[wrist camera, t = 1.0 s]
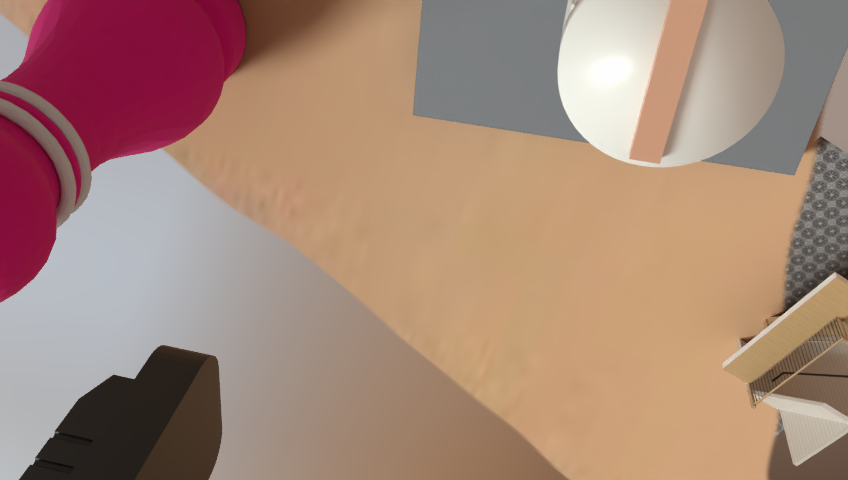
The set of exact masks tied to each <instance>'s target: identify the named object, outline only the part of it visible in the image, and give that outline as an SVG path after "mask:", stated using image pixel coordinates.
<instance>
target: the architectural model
mask: <svg viewBox="0 0 848 480" xmlns="http://www.w3.org/2000/svg"><path fill="white" fill-rule="evenodd" d="M764 325H765V329H764V330H763V331H762V332H761V333H759V334H758V335H757V336H756V337H754V338H753V339H752V340H751V341H750V342H748V343H746V342H744V341H743V340H741V339H739V340H737V346H738V351H737V352H736V353H735V354H734V355H732V356H731V357H730V358H729V359H727V360H726V361H725V362H724V363H723V364H722V365H723V369H724V370H726V371H727V372H729V373H731V374H732V375H734V376H736V377H737V378H739V379H741V380H742V381H744V382H745V383H746V388H747V392H748V393H749V398H750V403H751V407H752V408H753V409H754V408H756V405H757V404H758V403H759V402H761V401H763V402H765V403H767V404H768V405H770V406H772V407H773V408H775V409H779V413H780V417H781V421H782V425H783V429H784V430H785V433H786V437H787V441H788V445H789V449H790V453H791V457H792V461H793V464H794V465H796V466H798V465H799V464H801V463H802V462H804V461H805V460H807V459H809V458H810V457H811V456H813V455H815V454H816V453H818V452H819V451H820V450H822V449H824V448H825V447H827V446H828V445H830V444H831V443H833V442H834V441H836V440H837V439H839V438H840V437H842V436H843V435H845V434H846V433H848V279H847V278H845V277H843V276H842V275H840V274H839V273H837V272H836V271H834V272H833V273H832V274H831V275H829V276H828V277H827V278H826V279H824V280H823V281H822V282H821V283H820V284H818V285H817V286H816V287H815V288H813V289H812V290H811V291H810V292H809V293H807V294H806V295H805V296H804V297H802V298H801V299H800V300H799V301H797V302H796V303H795V304H794V305H793V306H791V307H790V308H789V309H788V310H786V311H785V312H784V313H783V315H781V316H778V317H770V318H768V319H767V320H764ZM770 373H771V374H770ZM771 377H772V378H771ZM773 385H774V386H773ZM754 396H755V397H756V398H758V399H759V400H758V401H757V399H756V401H757V402H755V400H754Z"/></svg>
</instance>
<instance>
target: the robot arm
mask: <svg viewBox="0 0 848 480" xmlns="http://www.w3.org/2000/svg"><path fill="white" fill-rule="evenodd" d="M221 437H222V419H221V400H220V382H219V366H218V361H217V358H216V357H215V356H212V355H207V354H202V353H198V352H193V351H188V350H184V349H179V348H175V347H170V346H165V345H162V346H160V347H158V348H157V349H156V350H155V351H154V352H153V353H152V354H151V356H150V357H149V359H148V360H147V362H146V363H145V365H144V366H143V367H142V369H141V370H140V372H139V373H138V375H137V376H136V378H135V379H130V378H126V377H121V376H117V375H113V376H111V377H110V378H108V379H107V380H105V381H104V382H103V383H101V384H100V385H98V386H97V387H95V388H94V389H93V390H91V391H90V392H88V393H87V394H85V395H84V396H83V397H81V398H80V399H78V401H77V402H76V403H75V405H74V406H73V408H72V409H71V410H70V412H69V413H68V414H67V416H66V417H65V418H64V420H63V421H62V422H61V424H60V425H59V426H58V428H57V429H56V430H55V435H54V437H53V438H50V439H49V440H48V441H47V443H46V444H45V445H44V447H43V448H42V449H41V451H40V452H39V453H38V455H37V456H36V458H35V462H34V464H33V465H30V466H29V467H28V468H27V470H26V471H25V472H24V474H23V475H22V476H21V478H20V479H19V480H208V479H209V477H210V475H211V473H212V471H213V468H214V466H215V463H216V460H217V456H218V453H219V448H220V444H221Z"/></svg>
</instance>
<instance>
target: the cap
mask: <svg viewBox="0 0 848 480" xmlns="http://www.w3.org/2000/svg"><path fill="white" fill-rule="evenodd" d="M784 62H785V47H784V40H783V34H782V31H781V27H780V24H779V21H778V19H777V17H776V15H775V13H774V11H773V9H772V7H771V5H770V3H769V2H768V0H568V3H567V8H566V14H565V19H564V24H563V31H562V37H561V43H560V51H559V60H558V87H559V93H560V97H561V100H562V103H563V107H564V109H565V111H566V113H567V115H568V117H569V119H570V120H571V122H572V123H573V125H574V126H575V128H576V129H577V130H578V131H579V133H580V134H581V135H582V136H583V137H584V138H585V139H586V140H587V141H588V142H590V143H591V144H592V145H593V146H594V147H596V148H597V149H599V150H600V151H602V152H603V153H605V154H607V155H609V156H611V157H613V158H615V159H618V160H621V161H624V162H627V163H631V164H635V165H640V166H648V167H673V166H681V165H686V164H690V163H695V162H698V161H701V160H704V159H707V158H710V157H712V156H714V155H716V154H718V153H720V152H722V151H724V150H725V149H727V148H729V147H730V146H732V145H734V144H735V143H736V142H738V141H739V140H740V139H742V138H743V137H744V136H745V135H747V134H748V133H749V132H750V131H751V130H752V129H753V128H754V127H755V126H756V125H757V123H758V122H759V121H760V120H761V118H762V117H763V116H764V115H765V113H766V112H767V110H768V108H769V107H770V105H771V104H772V102H773V100H774V98H775V95H776V93H777V91H778V89H779V86H780V82H781V79H782V75H783V69H784Z"/></svg>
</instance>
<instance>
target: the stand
mask: <svg viewBox="0 0 848 480" xmlns="http://www.w3.org/2000/svg"><path fill="white" fill-rule="evenodd" d="M768 2H769V3H770V5H771V7H772V9H773V11H774V13H775V15H776V17H777V19H778V21H779V24H780V27H781V31H782V34H783V40H784V47H785V62H784V69H783V75H782V79H781V82H780V86H779V89H778V91H777V93H776V95H775V98H774V100H773V102H772V104H771V105H770V107H769V108H768V110H767V112H766V113H765V115H764V116H763V117H762V118H761V120H760V121H759V122H758V123H757V125H756V126H755V127H754V128H753V129H752V130H751V131H750V132H749V133H748V134H747V135H745V136H744V137H743V138H742V139H740V140H739V141H738V142H736V143H735V144H734V145H732V146H730V147H729V148H727V149H725V150H724V151H722V152H720V153H718V154H716V155H714V156H712V157H710V158H707V159H704V160H701V161H706V162H712V163H718V164H725V165H731V166H737V167H744V168H750V169H756V170H763V171H769V172H775V173H782V174H788V175H795V173H796V170H797V168H798V166H799V163H800V161H801V158H802V156H803V153H804V151H805V149H806V146H807V144H808V141H809V139H810V137H811V134H812V132H813V129H814V127H815V124H816V122H817V120H818V117H819V115H820V112H821V110H822V108H823V105H824V103H825V100H826V98H827V95H828V93H829V91H830V88H831V86H832V83H833V81H834V78H835V76H836V74H837V71H838V69H839V66H840V64H841V62H842V59H843V57H844V54H845V52H846V49H847V47H848V0H768ZM567 3H568V0H422V11H421V23H420V35H419V47H418V59H417V71H416V83H415V95H414V107H413V115H415V116H422V117H428V118H434V119H441V120H447V121H453V122H460V123H466V124H472V125H478V126H485V127H491V128H497V129H504V130H510V131H516V132H523V133H529V134H535V135H542V136H548V137H554V138H561V139H567V140H573V141H580V142H586V143H590V142H588V141H587V140H586V139H585V138H584V137H583V136H582V135H581V134H580V133H579V131H578V130H577V129H576V128H575V126H574V125H573V123H572V122H571V120H570V119H569V117H568V115H567V113H566V111H565V109H564V107H563V103H562V100H561V97H560V93H559V87H558V60H559V51H560V43H561V37H562V31H563V24H564V19H565V14H566V8H567Z"/></svg>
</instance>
